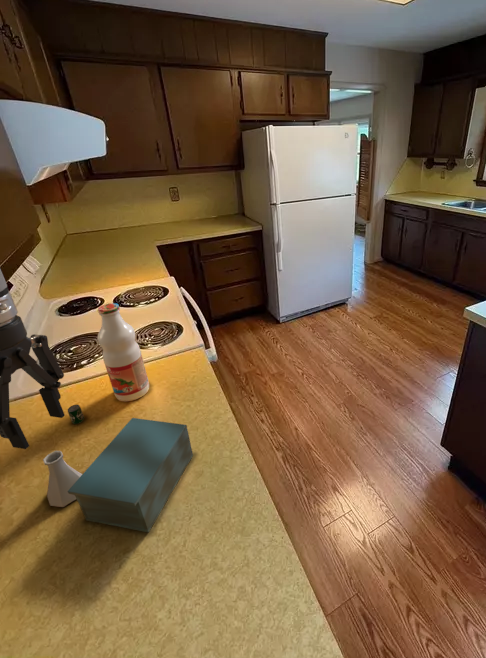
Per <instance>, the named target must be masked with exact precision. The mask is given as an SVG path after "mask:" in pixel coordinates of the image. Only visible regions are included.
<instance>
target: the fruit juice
mask: <svg viewBox="0 0 486 658" xmlns="http://www.w3.org/2000/svg"><path fill="white" fill-rule="evenodd" d="M120 309H121V308H120V306H119V304H118V303H116V302H110V303H109V302H108V303H105V304H102V305H100V306H98V308H97V312H98V315H99V316H100V317H101V326H100V329H99V331H98V333H97V342H98V345H99V346H100V347H101V350H102V354H101V355H102V360H103V364H104V366H105V369H106V372H107V375H108V378H109V382H110V385H111V388H112V391H113V394H114V396H115V398H116V399H117V400H118V401H120V402H132V401H136V400H138V399H140V398H142V397H143V396H145V395H146V394H147V393H148V391H149V390H150V381H149V377H148V373H147V370H146V365H145V362H144V359H143V355H142V350H141V347H140V346H139V343H138V342H137V341H136V331H135V329H134V327H133V326H132V324H130V323H128V322H127V321H125V320H124V318H123V317H122V315H121V313H120V311H121V310H120Z"/></svg>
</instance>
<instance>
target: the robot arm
mask: <svg viewBox="0 0 486 658" xmlns="http://www.w3.org/2000/svg"><path fill="white" fill-rule="evenodd" d="M4 276H5V275H4V274H3V271H2V269H1V268H0V437H1V438H3V439H6V440H7V439H8V441H9V442H10V445H11V446H12V448H14V449H23V450H27V449H28V448H29V447H30V443H29V442H28V440H27V438H26V435H25V433H24V432H23V430H22V428H21V425H20V424H19V422H18V420H17V418H16V417H11V413H10V412H11V411H10V383H11V382H12V375H13V374H14V373H15V372H17V371H18V370H20V369H21V370H22V371H23V372H25V373H26V374H27V375H28V376H30V377H31V378H32V379H33V380H35V382H37V383H38V384H39V385H40V386H42V387H41V388H40V389H38V392H39V394H40V396H41V399H42V401H43V403H44V406H45V408H46V410H47V412H48V415H49V417H51V418H60V419H62V418H64V417H65V416H66V414H65V412H64V409H63V407H62V404H61V402H60V400H61V393H60V390H59V388H60V387H61V386H62V382H61V381H59V380H62V379H64V377H65V373H64V371H63V370H62V368H61V366H60V364H59V363H58V360H57V358H56V357H55V355H54V353H53V351H52V350H51V348H50V346H49V339H48V336H47V335H46V334H31V335H30V337H28V331H27V329H26V327H25V324H24V322H23V319H22V318H21V316H20V315H18V313H19V311H18V308H17V306H16V304H15V301H14V299H13V297H12V294H11V292H10V290H9V287H8V283H7V281H6V279H5V277H4ZM31 349H32V351H33V354H34V355H35V357H36V358H37V360H38V361H39V363H40V364H38V361H37V360H36V359H34V358H33V356H31V355H30V352H31ZM40 365H41V366H40Z"/></svg>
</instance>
